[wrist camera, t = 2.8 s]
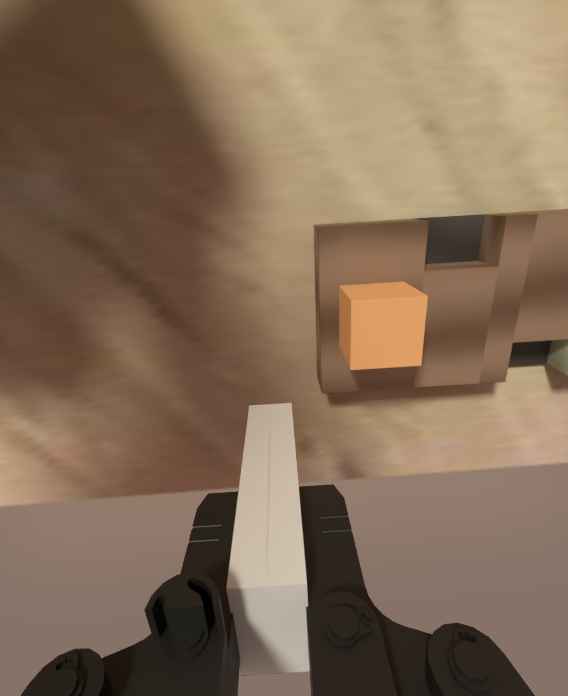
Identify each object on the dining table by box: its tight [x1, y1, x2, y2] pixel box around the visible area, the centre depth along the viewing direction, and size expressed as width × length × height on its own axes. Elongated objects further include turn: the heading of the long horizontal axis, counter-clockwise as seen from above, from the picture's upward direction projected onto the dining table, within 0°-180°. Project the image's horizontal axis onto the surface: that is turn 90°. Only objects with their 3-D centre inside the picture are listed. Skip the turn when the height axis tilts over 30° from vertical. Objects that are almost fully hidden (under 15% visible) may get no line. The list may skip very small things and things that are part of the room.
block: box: [339, 282, 428, 370], centre depth 23 cm, size 4×4×4 cm
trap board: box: [314, 209, 568, 394], centre depth 26 cm, size 12×26×4 cm, turn 93°
